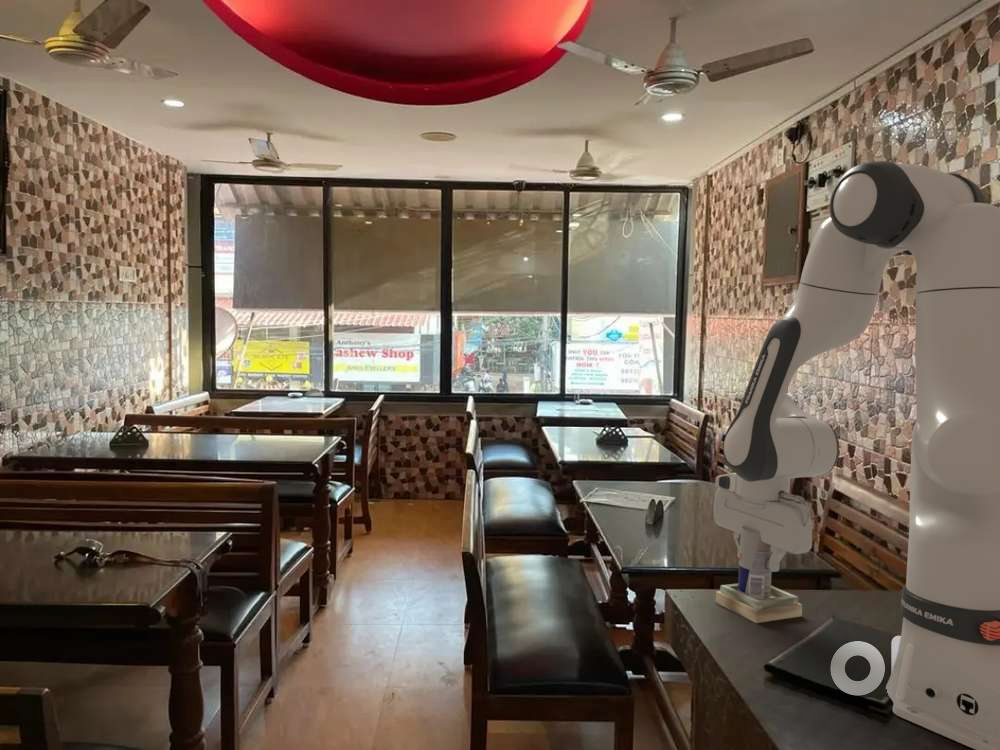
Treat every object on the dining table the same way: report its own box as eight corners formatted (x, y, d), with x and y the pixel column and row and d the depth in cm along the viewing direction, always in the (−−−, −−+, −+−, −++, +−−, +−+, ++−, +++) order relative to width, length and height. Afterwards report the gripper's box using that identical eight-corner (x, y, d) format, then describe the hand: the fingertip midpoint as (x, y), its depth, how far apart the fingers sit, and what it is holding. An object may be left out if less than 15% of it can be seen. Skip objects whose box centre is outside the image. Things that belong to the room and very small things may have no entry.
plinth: (801, 616, 121) (802, 597, 121) (756, 623, 117) (757, 604, 117) (759, 596, 130) (760, 579, 130) (715, 602, 127) (716, 584, 126)
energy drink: (744, 589, 128) (747, 523, 127) (774, 597, 125) (778, 529, 124) (732, 597, 124) (736, 528, 123) (763, 605, 120) (767, 534, 120)
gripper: (824, 498, 115) (818, 582, 116) (736, 474, 134) (732, 546, 135) (794, 499, 113) (789, 585, 113) (709, 475, 131) (705, 549, 132)
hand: (757, 564), depth 124 cm, fingers closed on energy drink, 5 cm apart
